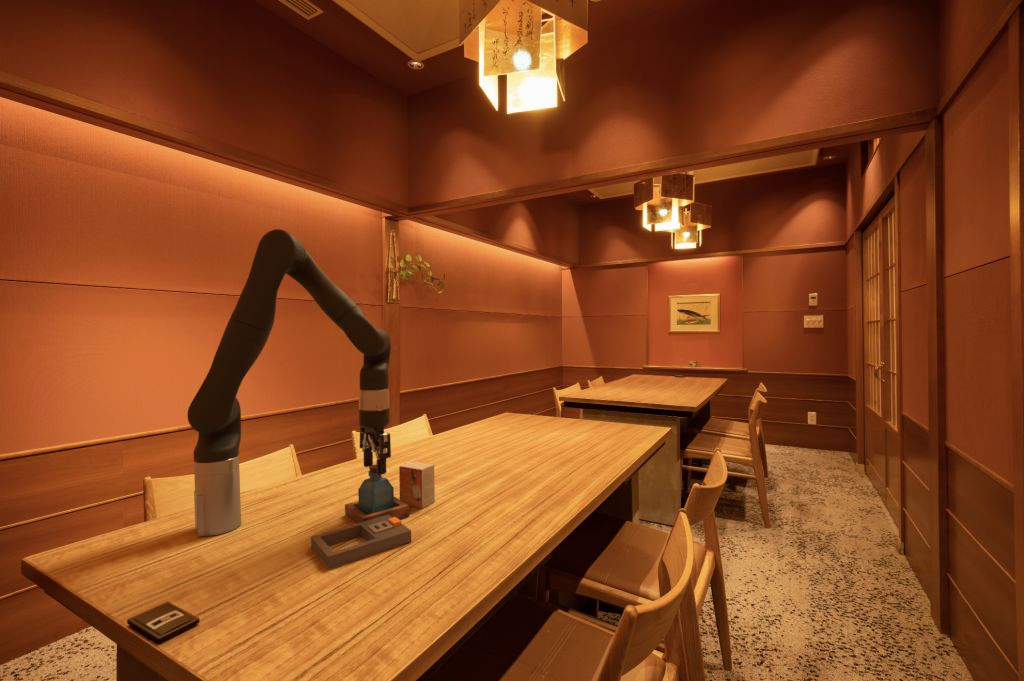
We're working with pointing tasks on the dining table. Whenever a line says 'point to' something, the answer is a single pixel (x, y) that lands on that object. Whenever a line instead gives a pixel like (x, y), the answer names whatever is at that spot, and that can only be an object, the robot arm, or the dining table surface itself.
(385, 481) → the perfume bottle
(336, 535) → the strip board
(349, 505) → the walnut tray
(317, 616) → the dining table surface
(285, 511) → the dining table surface
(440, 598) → the dining table surface
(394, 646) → the dining table surface
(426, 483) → the small box
